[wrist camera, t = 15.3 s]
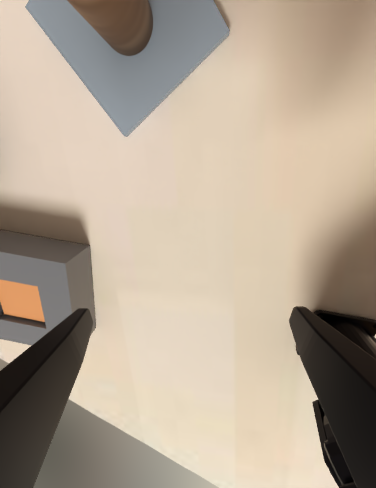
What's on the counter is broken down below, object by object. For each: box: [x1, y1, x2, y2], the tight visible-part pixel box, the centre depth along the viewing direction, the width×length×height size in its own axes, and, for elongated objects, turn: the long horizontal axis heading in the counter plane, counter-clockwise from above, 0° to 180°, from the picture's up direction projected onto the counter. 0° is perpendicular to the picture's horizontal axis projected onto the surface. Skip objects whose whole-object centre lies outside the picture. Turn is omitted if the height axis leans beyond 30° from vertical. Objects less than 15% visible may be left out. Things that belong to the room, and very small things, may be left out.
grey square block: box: [0, 230, 96, 345], centre depth 23 cm, size 12×12×4 cm
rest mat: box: [25, 0, 230, 137], centre depth 14 cm, size 10×10×1 cm
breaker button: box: [0, 279, 45, 322], centre depth 23 cm, size 5×5×3 cm
